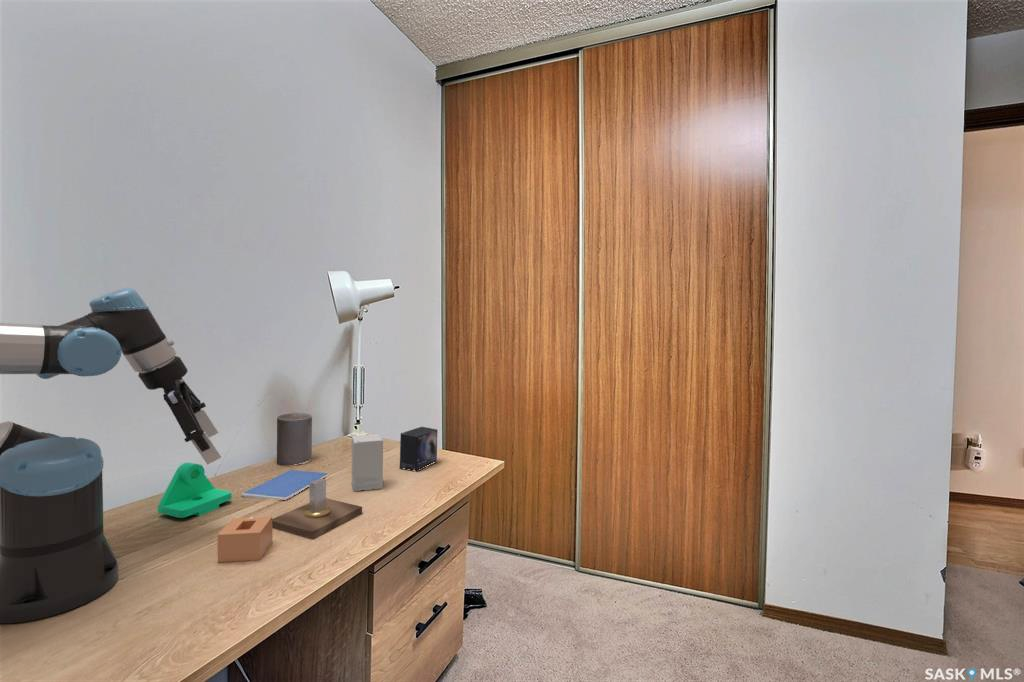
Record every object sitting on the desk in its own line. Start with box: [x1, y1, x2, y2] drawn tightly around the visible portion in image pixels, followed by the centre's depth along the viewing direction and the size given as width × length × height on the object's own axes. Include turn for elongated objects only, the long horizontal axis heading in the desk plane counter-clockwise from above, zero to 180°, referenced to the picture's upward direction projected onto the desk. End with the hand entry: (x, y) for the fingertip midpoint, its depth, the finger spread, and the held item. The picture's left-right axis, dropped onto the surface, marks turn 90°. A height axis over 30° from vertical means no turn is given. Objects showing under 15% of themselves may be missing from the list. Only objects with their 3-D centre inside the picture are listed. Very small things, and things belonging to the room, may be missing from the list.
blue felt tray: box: [241, 469, 329, 501], centre depth 123 cm, size 19×13×1 cm, turn 170°
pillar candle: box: [276, 411, 313, 466], centre depth 143 cm, size 10×10×15 cm
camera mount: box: [157, 462, 232, 519], centre depth 107 cm, size 12×8×10 cm, turn 159°
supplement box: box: [351, 433, 384, 492], centre depth 124 cm, size 7×7×13 cm
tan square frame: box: [216, 515, 273, 563], centre depth 89 cm, size 7×7×5 cm
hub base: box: [272, 478, 363, 540], centre depth 103 cm, size 14×12×8 cm
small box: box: [399, 426, 438, 472], centre depth 141 cm, size 11×6×10 cm, turn 154°
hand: (213, 447), depth 104 cm, fingers open, 13 cm apart
